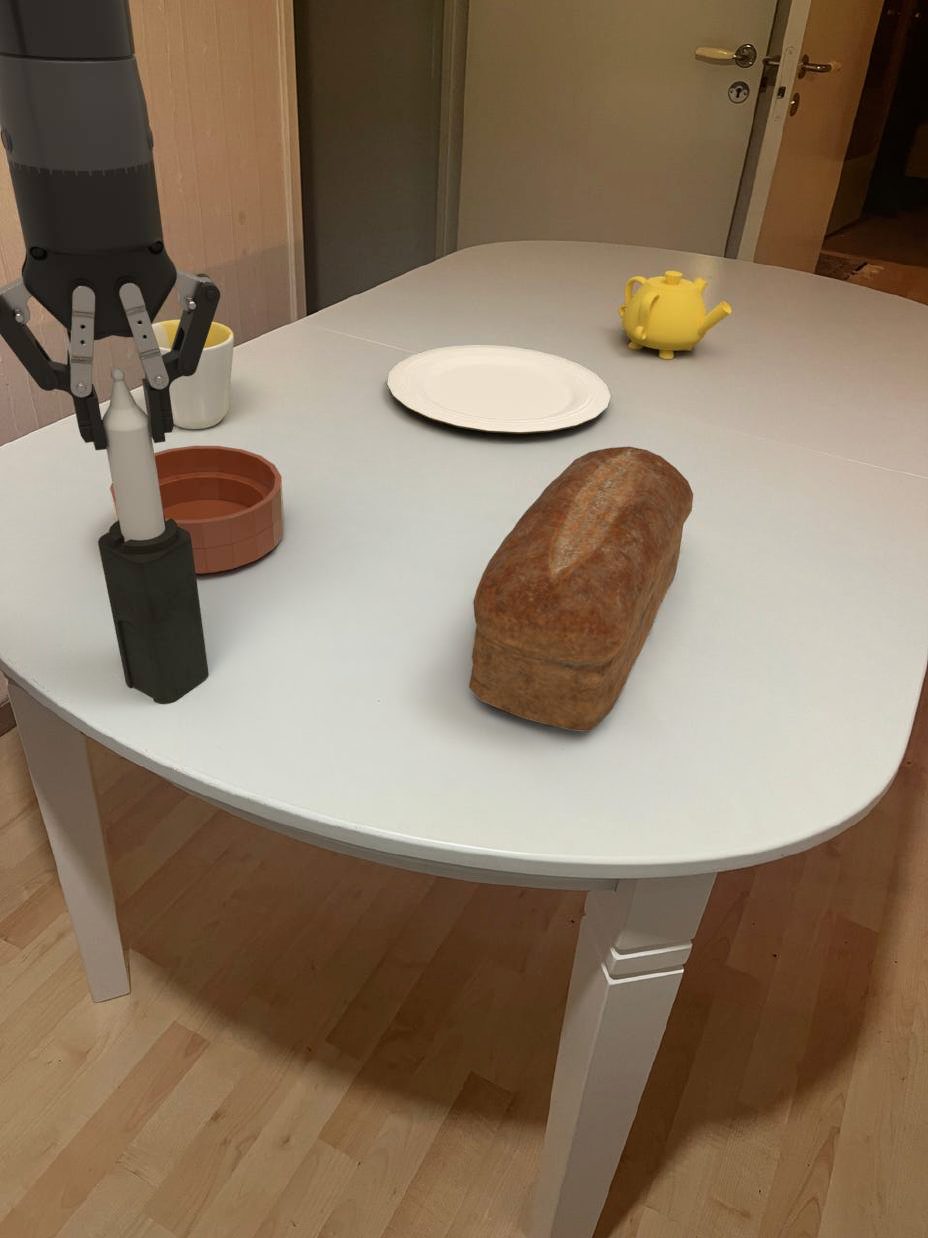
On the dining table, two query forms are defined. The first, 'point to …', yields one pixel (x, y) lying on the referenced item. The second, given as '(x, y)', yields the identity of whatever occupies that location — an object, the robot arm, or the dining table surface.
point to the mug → (200, 377)
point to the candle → (148, 564)
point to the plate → (498, 389)
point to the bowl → (221, 503)
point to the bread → (579, 588)
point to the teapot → (668, 313)
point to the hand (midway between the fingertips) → (128, 440)
